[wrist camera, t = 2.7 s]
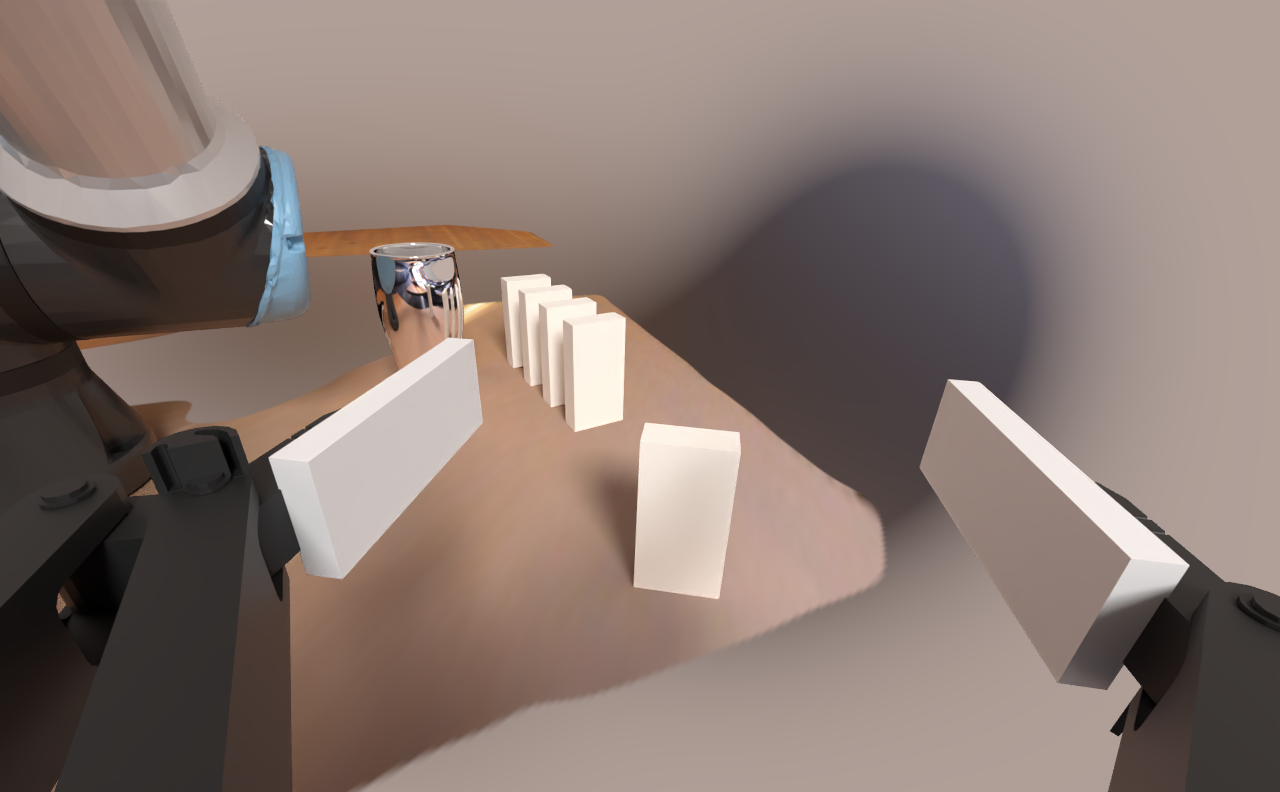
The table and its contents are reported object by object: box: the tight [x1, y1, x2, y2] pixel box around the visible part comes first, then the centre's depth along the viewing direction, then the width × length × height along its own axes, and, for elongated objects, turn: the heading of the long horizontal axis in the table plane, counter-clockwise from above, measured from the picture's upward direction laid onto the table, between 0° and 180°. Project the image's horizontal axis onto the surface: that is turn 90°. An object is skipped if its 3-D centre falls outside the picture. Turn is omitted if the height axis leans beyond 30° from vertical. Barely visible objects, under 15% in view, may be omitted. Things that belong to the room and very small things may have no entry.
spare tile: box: [634, 423, 741, 599], centre depth 28 cm, size 2×5×10 cm, turn 82°
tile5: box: [501, 274, 551, 368], centre depth 58 cm, size 2×5×10 cm, turn 122°
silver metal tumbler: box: [369, 243, 464, 370], centre depth 45 cm, size 7×7×15 cm
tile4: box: [518, 285, 572, 386], centre depth 54 cm, size 2×5×10 cm, turn 122°
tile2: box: [563, 312, 626, 432], centre depth 46 cm, size 2×5×10 cm, turn 122°
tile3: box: [538, 297, 596, 407], centre depth 50 cm, size 2×5×10 cm, turn 122°
